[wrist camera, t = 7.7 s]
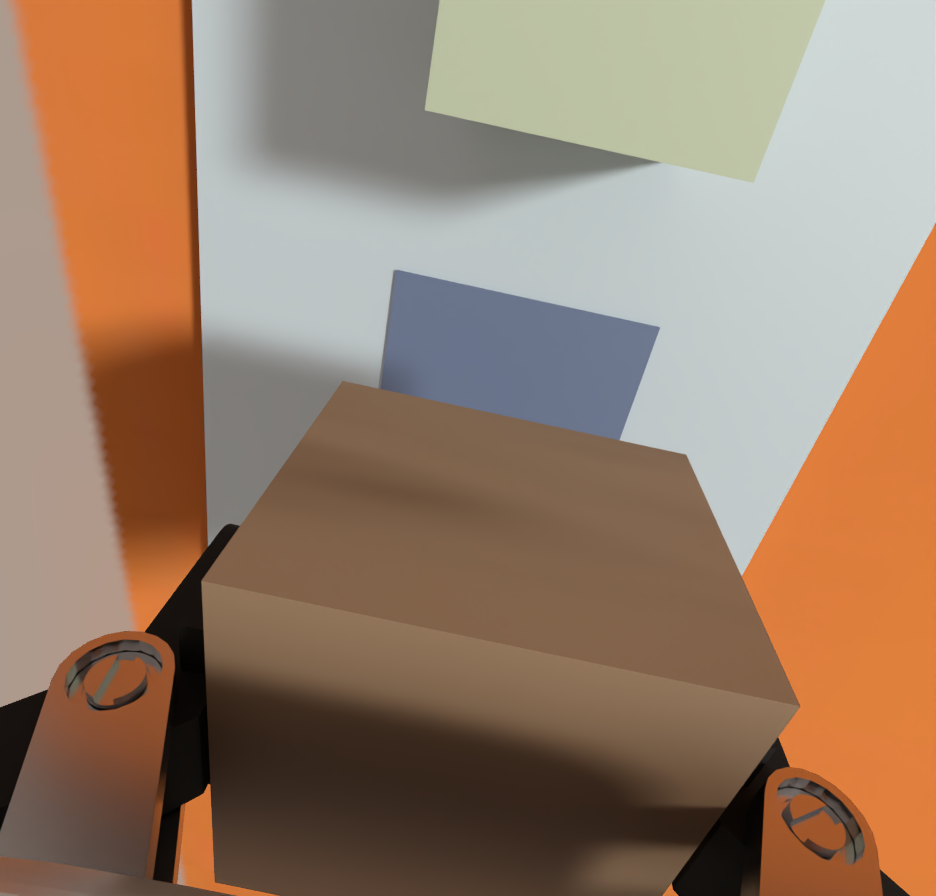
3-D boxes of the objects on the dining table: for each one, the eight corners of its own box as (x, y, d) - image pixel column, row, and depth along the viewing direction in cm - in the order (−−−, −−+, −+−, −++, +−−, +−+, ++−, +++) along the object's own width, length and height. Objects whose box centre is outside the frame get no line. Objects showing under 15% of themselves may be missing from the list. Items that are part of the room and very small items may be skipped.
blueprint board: (637, 748, 25) (640, 763, 25) (218, 659, 25) (210, 672, 24) (1111, -136, 12) (1143, -150, 11) (197, -343, 11) (178, -370, 11)
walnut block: (586, 683, 13) (612, 962, 9) (320, 627, 13) (215, 882, 9) (685, 455, 10) (800, 706, 6) (342, 380, 10) (201, 580, 6)
